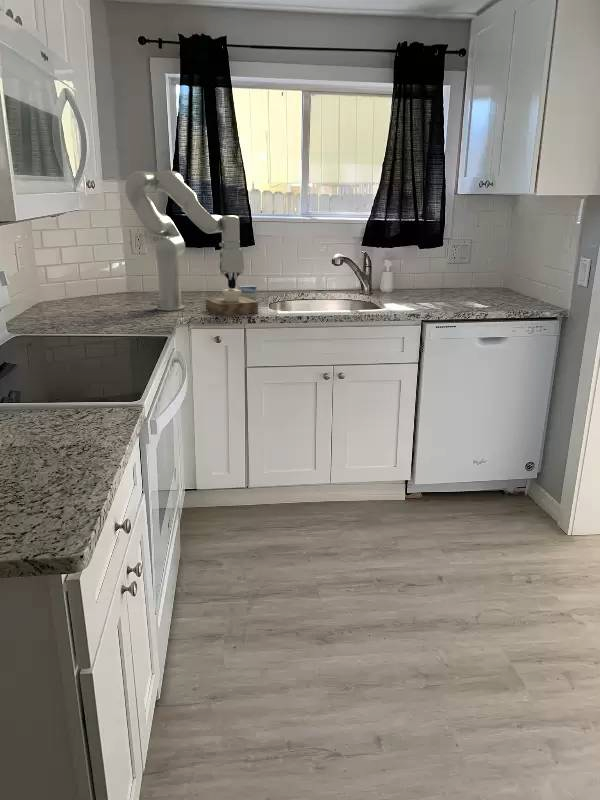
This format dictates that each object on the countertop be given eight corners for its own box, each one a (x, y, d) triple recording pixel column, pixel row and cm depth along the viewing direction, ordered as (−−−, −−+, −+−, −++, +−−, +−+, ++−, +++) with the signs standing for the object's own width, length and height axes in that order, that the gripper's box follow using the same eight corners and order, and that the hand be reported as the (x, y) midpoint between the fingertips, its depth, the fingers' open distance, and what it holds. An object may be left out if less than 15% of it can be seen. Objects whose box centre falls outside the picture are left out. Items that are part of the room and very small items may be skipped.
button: (228, 305, 268) (227, 291, 266) (222, 303, 274) (221, 289, 272) (241, 304, 271) (241, 290, 269) (235, 302, 277) (235, 288, 275)
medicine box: (240, 305, 290) (240, 286, 287) (238, 303, 294) (238, 285, 291) (256, 304, 292) (256, 286, 289) (254, 303, 296) (254, 285, 293)
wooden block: (220, 316, 263) (220, 304, 261) (206, 310, 276) (205, 299, 274) (258, 313, 271) (257, 301, 270) (242, 307, 284) (242, 296, 283)
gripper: (218, 246, 258) (219, 290, 264) (250, 245, 265) (251, 288, 271) (211, 245, 264) (212, 288, 270) (243, 244, 271) (243, 286, 277)
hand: (232, 288), depth 270 cm, fingers closed
